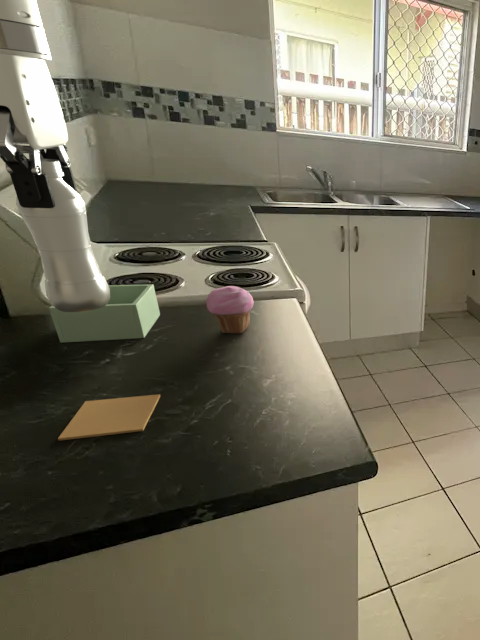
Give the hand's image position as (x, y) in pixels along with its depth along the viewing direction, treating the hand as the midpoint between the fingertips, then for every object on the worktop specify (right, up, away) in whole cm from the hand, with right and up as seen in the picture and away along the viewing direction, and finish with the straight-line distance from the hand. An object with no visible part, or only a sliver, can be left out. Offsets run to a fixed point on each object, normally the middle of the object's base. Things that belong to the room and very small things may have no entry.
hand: (51, 201), depth 61 cm
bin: (-24, -16, +39) cm, 48 cm away
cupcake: (-1, -16, +43) cm, 46 cm away
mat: (-2, -30, +12) cm, 32 cm away
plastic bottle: (-1, -14, +6) cm, 15 cm away
